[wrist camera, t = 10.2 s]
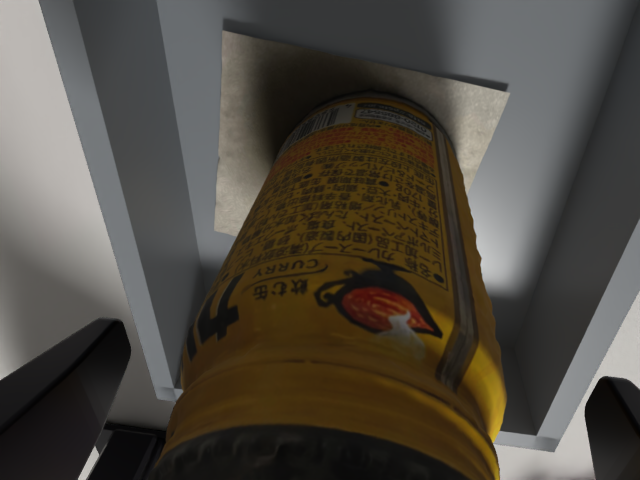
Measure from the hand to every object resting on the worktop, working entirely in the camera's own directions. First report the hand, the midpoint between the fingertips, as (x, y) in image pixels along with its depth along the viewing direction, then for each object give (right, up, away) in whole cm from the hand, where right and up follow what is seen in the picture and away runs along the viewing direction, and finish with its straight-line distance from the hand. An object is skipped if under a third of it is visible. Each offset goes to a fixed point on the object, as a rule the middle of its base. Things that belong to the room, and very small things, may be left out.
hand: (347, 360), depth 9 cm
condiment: (0, +5, +7) cm, 9 cm away
